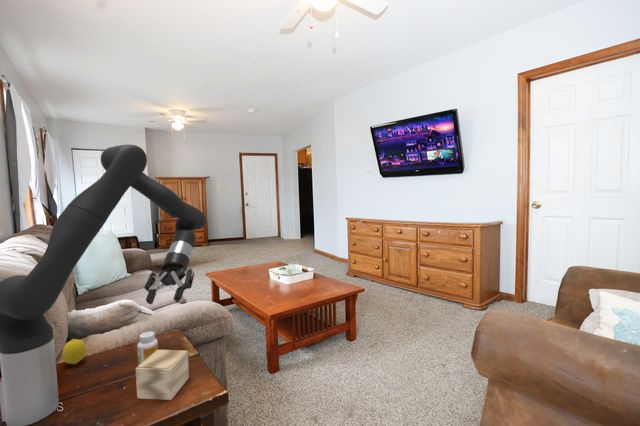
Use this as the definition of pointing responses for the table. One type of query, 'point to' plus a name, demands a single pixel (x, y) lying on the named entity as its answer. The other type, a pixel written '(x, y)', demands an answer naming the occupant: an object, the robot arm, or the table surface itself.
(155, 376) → the maple block
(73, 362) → the lemon
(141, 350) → the supplement bottle
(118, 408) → the table surface
